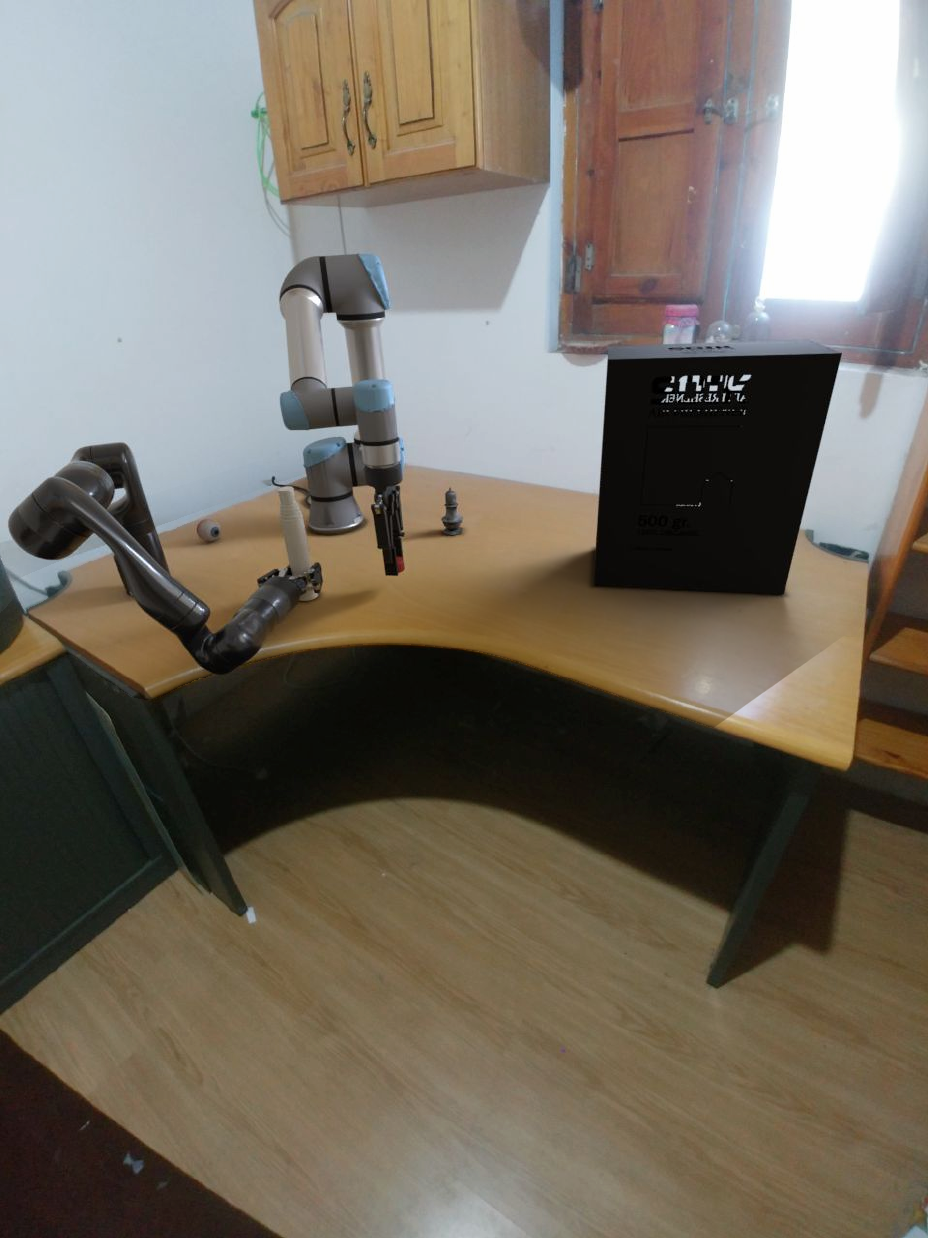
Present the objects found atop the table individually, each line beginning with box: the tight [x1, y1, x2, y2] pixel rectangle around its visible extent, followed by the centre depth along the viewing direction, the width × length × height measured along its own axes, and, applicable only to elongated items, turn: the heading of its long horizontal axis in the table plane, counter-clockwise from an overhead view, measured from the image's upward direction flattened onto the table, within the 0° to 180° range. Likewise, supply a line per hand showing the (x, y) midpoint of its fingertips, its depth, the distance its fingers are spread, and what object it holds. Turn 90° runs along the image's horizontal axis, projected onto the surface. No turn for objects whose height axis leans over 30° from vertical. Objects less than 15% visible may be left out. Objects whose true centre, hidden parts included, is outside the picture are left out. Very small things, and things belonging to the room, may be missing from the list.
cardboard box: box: [593, 339, 843, 595], centre depth 123 cm, size 38×20×45 cm, turn 78°
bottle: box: [277, 486, 319, 602], centre depth 126 cm, size 4×4×24 cm
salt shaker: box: [440, 487, 464, 536], centre depth 158 cm, size 6×6×12 cm
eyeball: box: [196, 518, 222, 543], centre depth 162 cm, size 6×6×6 cm
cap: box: [396, 556, 406, 574], centre depth 131 cm, size 4×4×2 cm
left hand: (307, 565), depth 132 cm, fingers closed on bottle, 4 cm apart
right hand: (394, 570), depth 131 cm, fingers closed on cap, 4 cm apart
